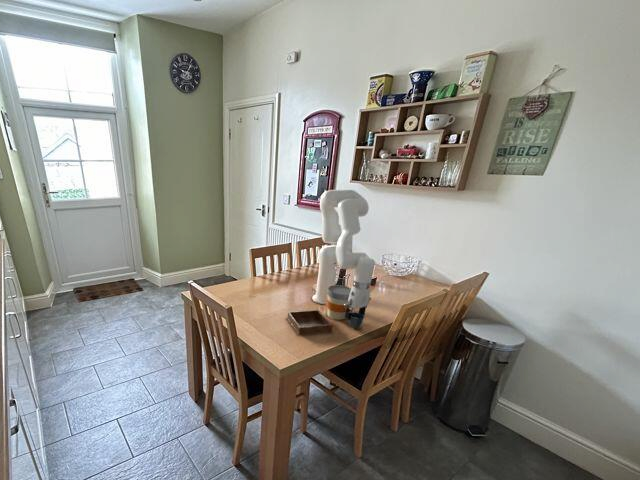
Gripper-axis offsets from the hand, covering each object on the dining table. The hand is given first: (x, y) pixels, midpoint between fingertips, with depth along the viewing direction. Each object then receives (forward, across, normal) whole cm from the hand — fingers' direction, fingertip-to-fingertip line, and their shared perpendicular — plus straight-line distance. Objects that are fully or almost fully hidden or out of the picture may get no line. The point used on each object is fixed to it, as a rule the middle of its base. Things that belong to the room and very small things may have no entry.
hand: (354, 316), depth 159 cm
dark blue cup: (+5, 0, -1) cm, 5 cm away
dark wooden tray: (+5, -20, +10) cm, 23 cm away
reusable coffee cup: (+6, 0, +11) cm, 12 cm away
